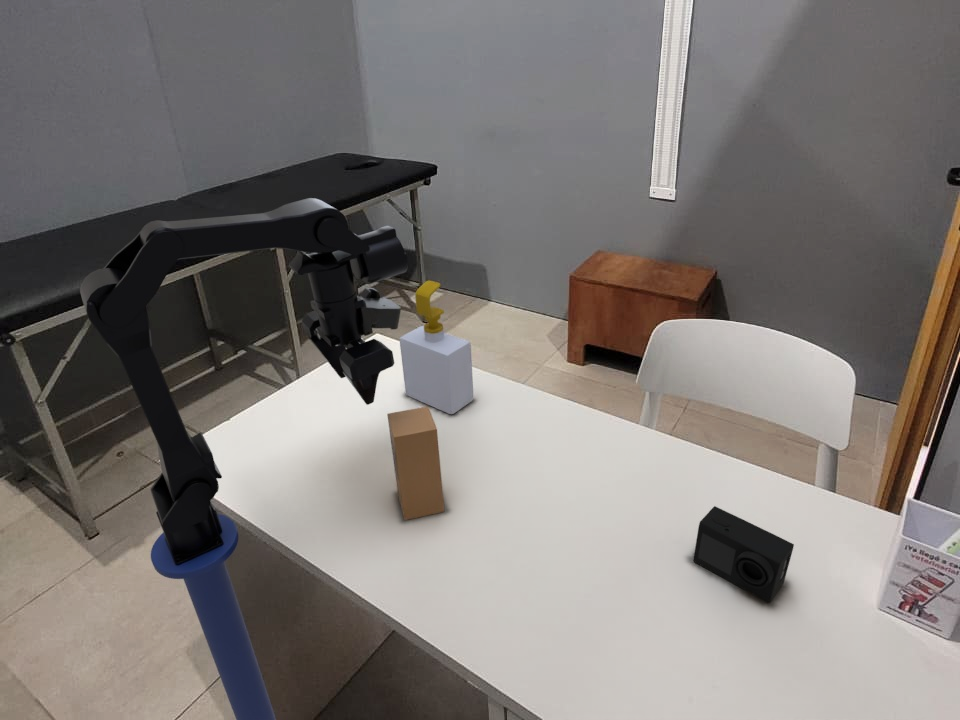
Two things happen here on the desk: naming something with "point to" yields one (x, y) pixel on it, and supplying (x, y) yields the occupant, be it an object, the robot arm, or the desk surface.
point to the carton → (416, 462)
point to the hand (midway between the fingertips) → (356, 389)
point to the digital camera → (742, 553)
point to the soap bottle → (436, 360)
